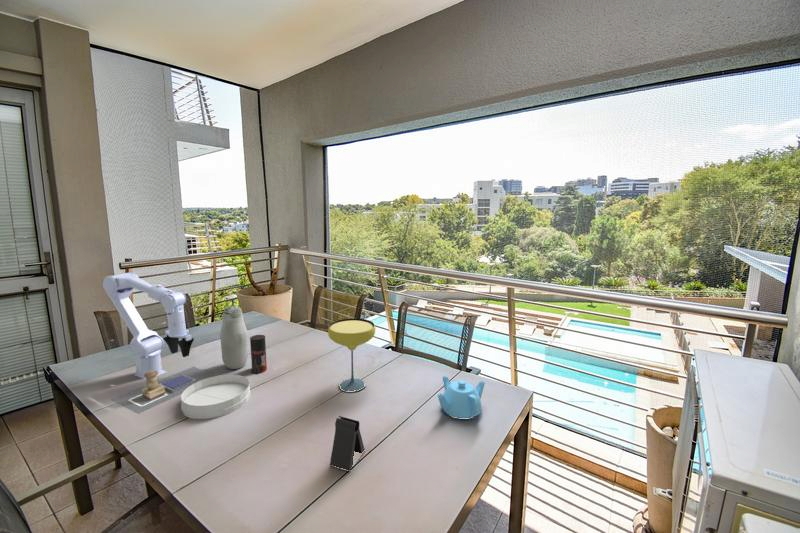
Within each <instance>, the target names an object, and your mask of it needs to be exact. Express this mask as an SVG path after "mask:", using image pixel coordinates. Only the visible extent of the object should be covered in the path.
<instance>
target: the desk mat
mask: <svg viewBox="0 0 800 533" xmlns="http://www.w3.org/2000/svg"><path fill="white" fill-rule="evenodd" d="M180 375H185V376H188V377H190V378H193V379H196V382H198V381H201V380H204V379H207V378H210V377H214V376H219V374H216V373H213V372H211V371H207V370H204V369H202V368H200V367H199V368H198V367H196V366H192V367H189V368H187V369H184V370H181V371H179V372H176V373H173V374H171V375H170V376H167V377H164V378H161V379H160V380H159V379H158V384H160V383H163V382H165V381H168V380H170V379H173V378H175V377H177V376H180ZM189 386H191V385H189ZM189 386H187V387H185V388H183V389H180V390H178V391H176V392H174V393H172V392H169V391H167V390H165V394H163V395H161V396H159V397H157V398H154V399H152V400H149V399H147V398H144V397H143V395H142V389H145V388H147V385H143V386H142V387H140V388H137V389H135V390H131V391H129V392H126V393H125V394H121V395H120V396H117V397H115V398H112V399H111V401H112V402H114V403H117V404H119V405H120V406H123V407H125V408H126V409H129V410H131V411H132V412H135V413H136V414H141V413H143V412H145V411H148V410H150V409H153V408H154V407H156V406H158V405H160V404H163V403H165V402H167V401H170V400H171V399H173V398H175V397H176V398H177V397H178V396H181V395H182V393H183V391H184V390H185V389H187V388H188V387H189Z"/></svg>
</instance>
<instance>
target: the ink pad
mask: <svg viewBox="0 0 800 533" xmlns="http://www.w3.org/2000/svg"><path fill="white" fill-rule="evenodd" d="M194 383H196V379H193V378H190V377H188V376H185V375H180V376H177V377H175V378H173V379H170V380H168V381H165V382H163V383H160V384H159V385H162V386H164V387H165V390H167V391H169V392H172V393H174V392H176V391H178V390H180V389H183V388H185V387H187V386H189V385H192V384H194Z"/></svg>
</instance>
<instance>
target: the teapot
mask: <svg viewBox="0 0 800 533" xmlns="http://www.w3.org/2000/svg"><path fill="white" fill-rule="evenodd" d="M442 383H443V387H444V392H443V393H442V392H440V393H438V394H437V398H438V402H439V405H440V408H441V409H442V410H443V411H444V413H445V412H446V413H447V414H449V415H451V416H453V417H457V418H471V417H474V416H476V415H477V416H478V415H479V414H482V399H481V398H482V397H483V396H482V395H483V391H484V387H485V384H486V383H485V381H483V380H481V381H479V382H478V383H477V385H476V386H475V387H474V385H473V384H472V383H470V382H468V381H465V380H456V381H452V382H451V381H450V379H449V378H448V376H446V375H444V376H442ZM446 413H445V414H446ZM447 414H446V415H447ZM449 415H448V416H449ZM477 416H476V417H477ZM474 418H475V417H474Z"/></svg>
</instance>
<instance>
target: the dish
mask: <svg viewBox="0 0 800 533" xmlns="http://www.w3.org/2000/svg"><path fill="white" fill-rule="evenodd" d="M218 375H219V374H218ZM250 398H251V387H250V381H249V379H248V378H247V377H245V376H243V375H240V374H220V375H219V376H214V377H210V378H207V379H204V380H201V381H198V382H196V383H194V384H192V385H191V386H189V387H188V388H187V389H185V390H184V391H183V393H182V394H180V400H181V403H180V409H181V412H182V414H183V415H184V416H185V417H187V418H190V419H194V420H207V419H214V418H219V417H223V416H225V415H228V414H231V413H233V412H235V411H236V410H238V409H240V408H242V407H243V406H245V405H246V404H247V403H248V402H249V399H250Z"/></svg>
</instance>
